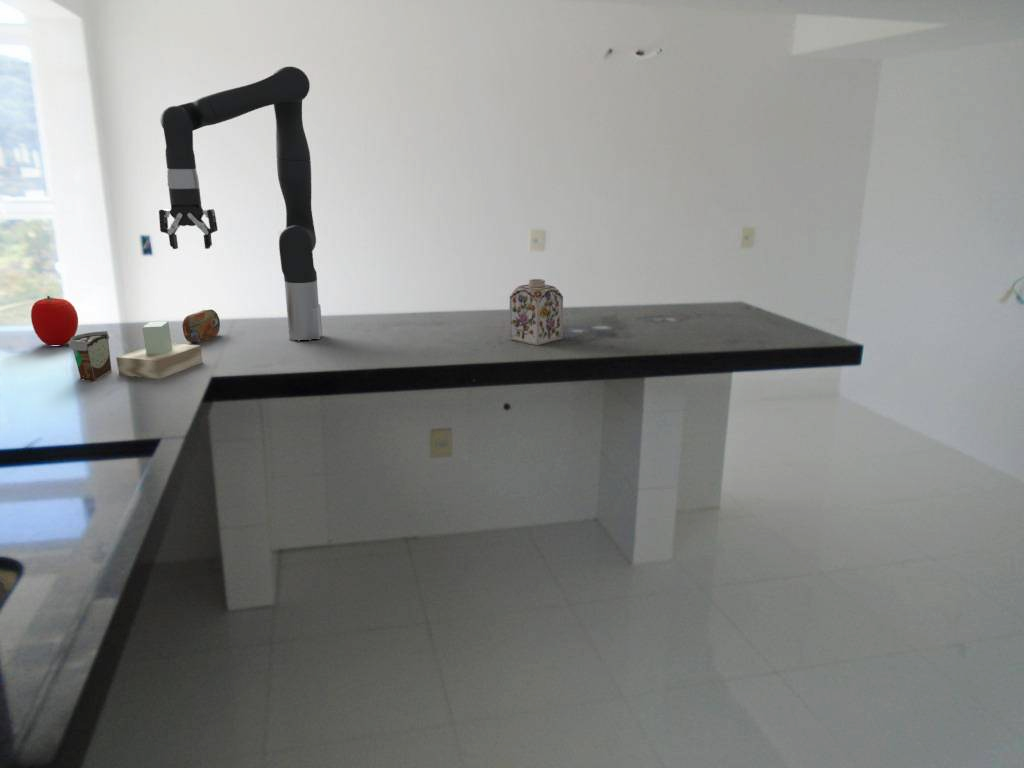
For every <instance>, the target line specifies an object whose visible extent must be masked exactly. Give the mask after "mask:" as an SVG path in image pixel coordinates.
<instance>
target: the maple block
mask: <svg viewBox="0 0 1024 768" xmlns="http://www.w3.org/2000/svg"><path fill="white" fill-rule="evenodd" d="M115 358H116V363H117V371H118V375H119V376H124V375H127V376H126V377H134V376H137V377H136V378H145V379H158V380H161V379H163V378H167V377H168V376H171V375H173V374H176V373H179V372H182V371H184V370H187V369H190V368H192V367H194V366H196V365H199V364H202V363H203V355H202V345H199V344H185V343H173V342H172V349H171V350H169V351H168V352H167V353H166V354H149V355H146V349H145V347H144V348H141V349H137V350H135V351H131V352H129V353H125V354H123V355H119V356H117V357H115Z"/></svg>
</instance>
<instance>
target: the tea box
mask: <svg viewBox="0 0 1024 768" xmlns="http://www.w3.org/2000/svg"><path fill="white" fill-rule="evenodd" d="M170 329H171V328H170V323H169V321H150V322H148V323H146V324H145V325H144V326H143V325H142V328H141V330H142V336H143V342H144V348H145V349H146V355H149V354H166V353H167V352H168V351H169V350H171V349H172V343H173V342H172V338H171V337H172V335H171V331H170Z"/></svg>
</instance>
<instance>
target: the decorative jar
mask: <svg viewBox="0 0 1024 768" xmlns="http://www.w3.org/2000/svg"><path fill="white" fill-rule="evenodd" d="M508 318H509V321H508V323H509V325H508V327H509V341H515V342H519V343H524V344H529V345H532V346H533V345H534V346H541V345H544V344H548V343H549V344H550V343H553V342H556V341H561V340H562V339H563V328H564V327H563V324H564V296H563V295H562V293H561V292H560V290H559V289H557V287H556V286H554V285H549V284H546V280H545V279H542V278H532V279H529V280H528V284H522V285H519V286H517V287H516V288H515V289H514V290H513V291H512V293H511V294H510V295H509V317H508Z"/></svg>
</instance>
